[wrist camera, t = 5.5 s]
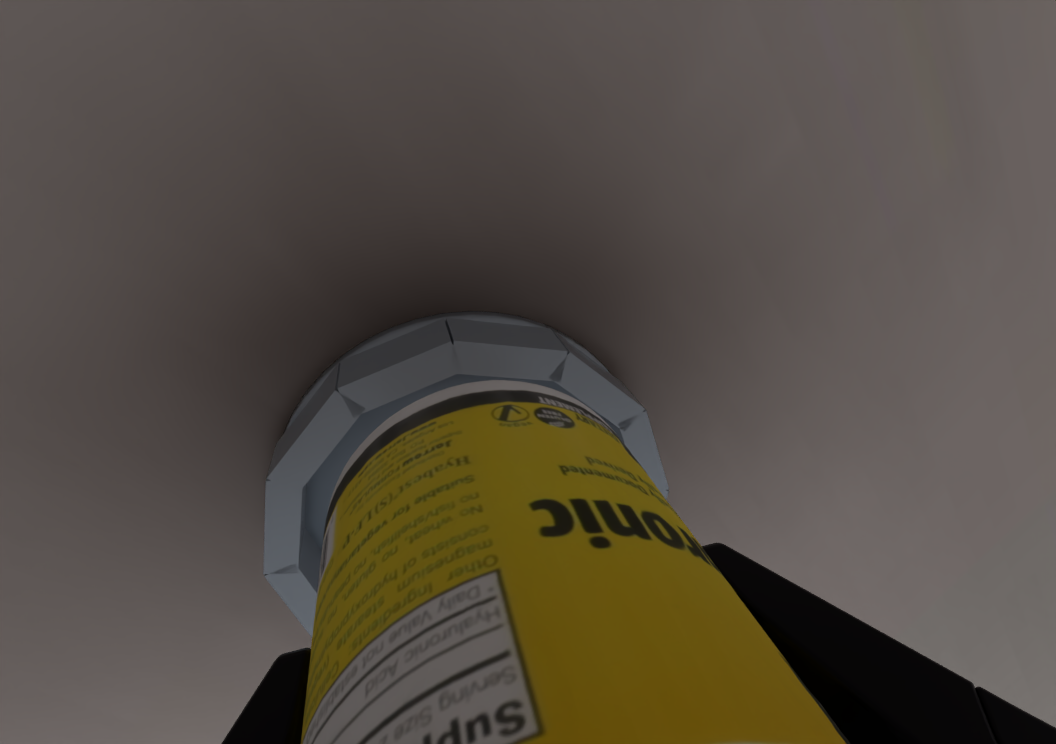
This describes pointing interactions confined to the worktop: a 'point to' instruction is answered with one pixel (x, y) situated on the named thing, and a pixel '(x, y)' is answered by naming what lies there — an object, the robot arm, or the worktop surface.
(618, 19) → the worktop surface
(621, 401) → the round dish
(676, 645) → the supplement bottle
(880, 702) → the robot arm
